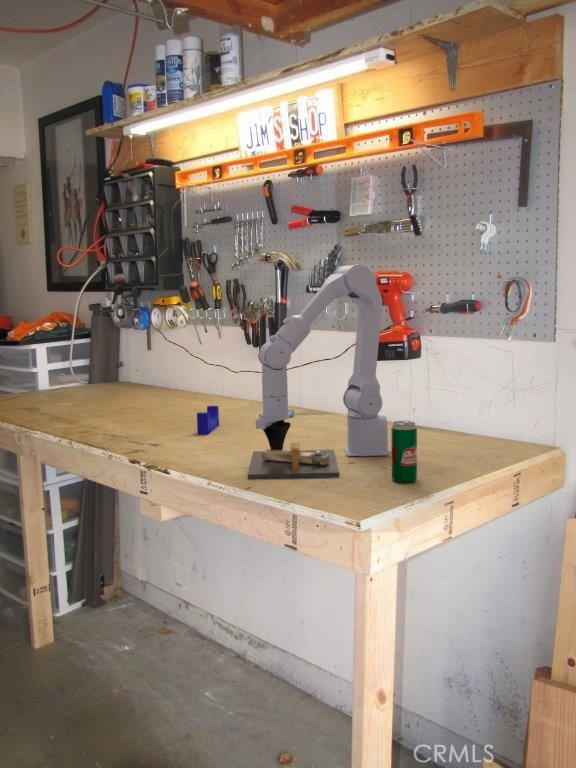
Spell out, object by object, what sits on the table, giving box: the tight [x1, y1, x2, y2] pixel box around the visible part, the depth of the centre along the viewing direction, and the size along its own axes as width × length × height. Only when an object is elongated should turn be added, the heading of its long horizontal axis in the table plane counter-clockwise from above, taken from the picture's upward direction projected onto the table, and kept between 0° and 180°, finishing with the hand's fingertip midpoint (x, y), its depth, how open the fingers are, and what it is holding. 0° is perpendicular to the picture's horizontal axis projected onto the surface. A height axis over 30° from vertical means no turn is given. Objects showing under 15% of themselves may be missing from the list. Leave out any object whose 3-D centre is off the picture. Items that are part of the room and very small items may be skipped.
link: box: [262, 448, 329, 465], centre depth 152 cm, size 15×4×2 cm, turn 66°
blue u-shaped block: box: [196, 405, 220, 435], centre depth 193 cm, size 12×4×6 cm, turn 171°
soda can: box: [391, 420, 418, 484], centre depth 138 cm, size 5×5×12 cm
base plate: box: [247, 442, 340, 480], centre depth 152 cm, size 19×20×6 cm
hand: (276, 454), depth 156 cm, fingers closed
